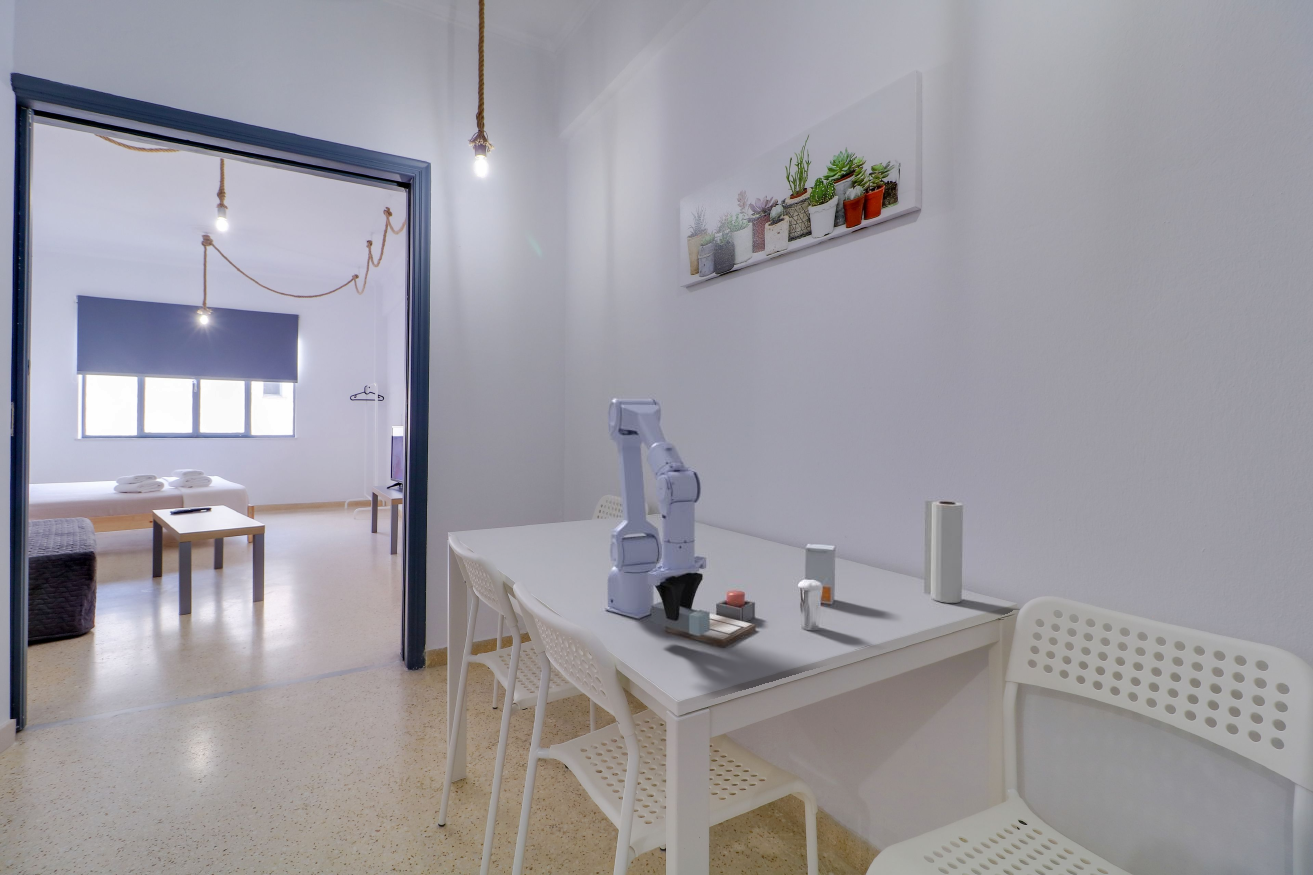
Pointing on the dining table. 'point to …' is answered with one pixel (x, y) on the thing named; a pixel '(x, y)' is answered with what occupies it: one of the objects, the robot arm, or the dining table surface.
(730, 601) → the button
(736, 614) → the button housing
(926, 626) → the dining table surface
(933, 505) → the paper towel roll
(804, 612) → the milkshake
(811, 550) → the skincare box
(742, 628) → the brown flat wooden board
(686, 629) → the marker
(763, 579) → the dining table surface
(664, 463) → the robot arm
